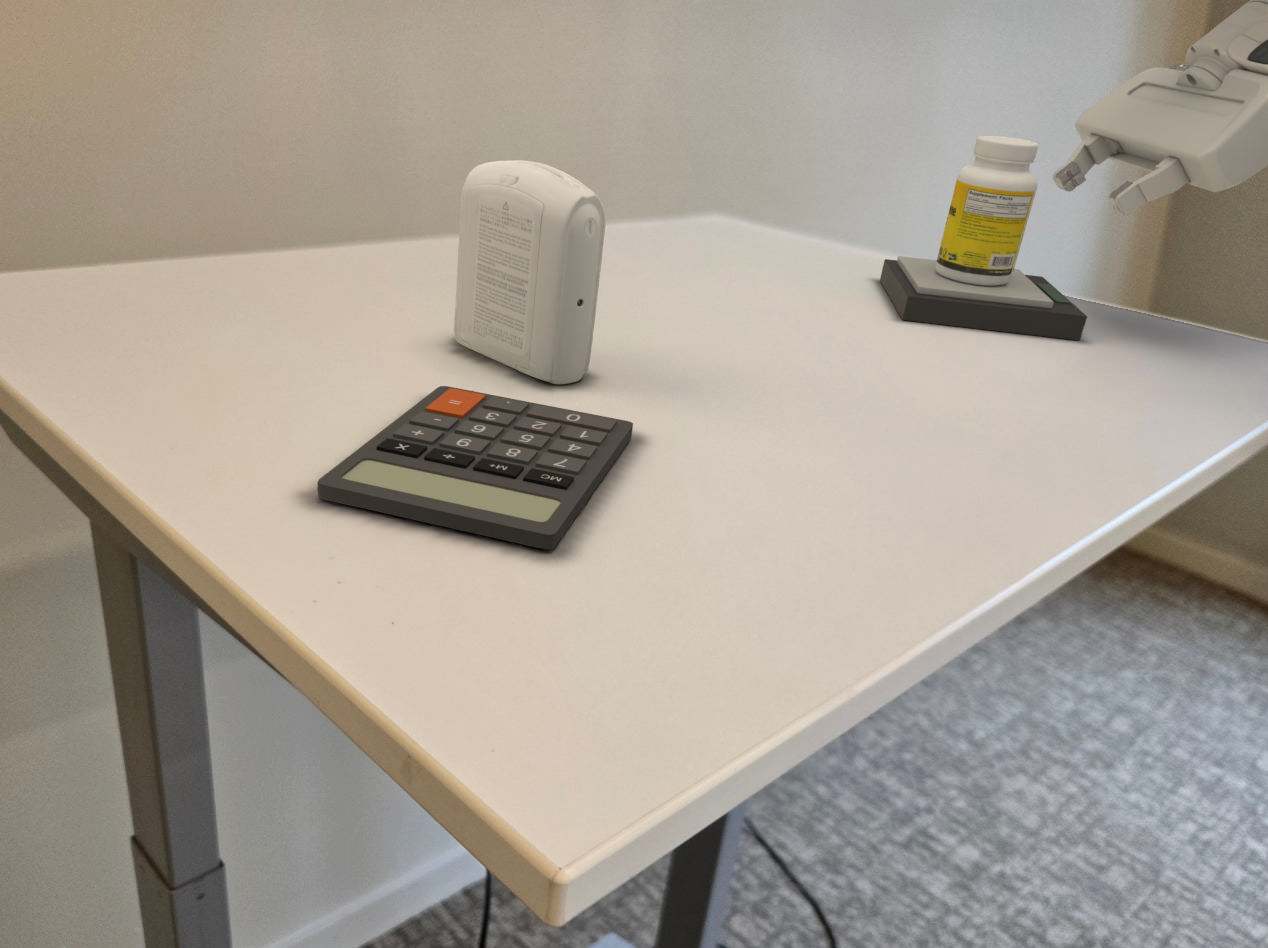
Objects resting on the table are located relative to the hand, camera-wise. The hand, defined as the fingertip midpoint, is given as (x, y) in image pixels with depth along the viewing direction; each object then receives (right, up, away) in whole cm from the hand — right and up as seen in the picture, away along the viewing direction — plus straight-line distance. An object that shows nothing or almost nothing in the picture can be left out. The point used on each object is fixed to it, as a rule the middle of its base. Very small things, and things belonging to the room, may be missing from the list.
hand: (1086, 195), depth 88 cm
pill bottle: (-9, -6, +3) cm, 11 cm away
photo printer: (-46, -17, -18) cm, 52 cm away
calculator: (-47, -25, -33) cm, 63 cm away
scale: (-8, -8, +4) cm, 12 cm away
